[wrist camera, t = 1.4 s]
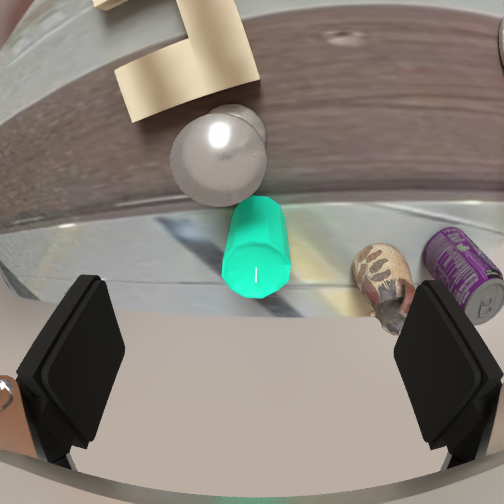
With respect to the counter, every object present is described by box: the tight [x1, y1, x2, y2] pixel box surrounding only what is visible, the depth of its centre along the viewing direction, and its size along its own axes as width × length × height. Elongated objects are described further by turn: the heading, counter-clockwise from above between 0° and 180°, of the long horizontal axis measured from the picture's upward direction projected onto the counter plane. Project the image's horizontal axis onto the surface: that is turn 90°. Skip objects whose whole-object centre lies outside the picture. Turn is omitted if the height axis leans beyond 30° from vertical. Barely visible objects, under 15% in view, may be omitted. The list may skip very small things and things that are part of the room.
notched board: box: [93, 0, 260, 123], centre depth 24 cm, size 13×20×3 cm, turn 16°
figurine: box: [352, 243, 416, 336], centre depth 34 cm, size 7×7×12 cm
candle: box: [222, 196, 291, 298], centre depth 32 cm, size 6×6×12 cm
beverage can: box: [424, 227, 504, 325], centre depth 32 cm, size 7×7×12 cm
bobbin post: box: [170, 104, 267, 207], centre depth 27 cm, size 7×7×11 cm
